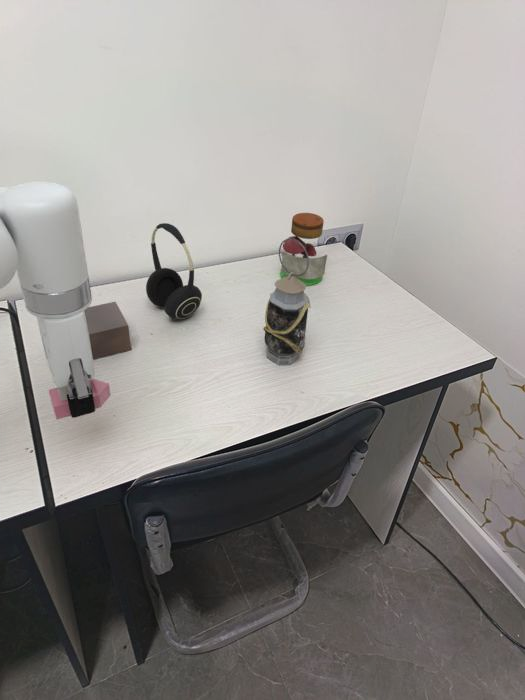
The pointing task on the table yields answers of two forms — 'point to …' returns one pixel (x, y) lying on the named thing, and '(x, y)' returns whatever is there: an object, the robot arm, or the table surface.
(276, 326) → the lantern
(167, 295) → the headphones
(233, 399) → the table surface
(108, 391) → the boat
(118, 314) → the block
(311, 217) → the brown red grey stack
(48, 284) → the robot arm
